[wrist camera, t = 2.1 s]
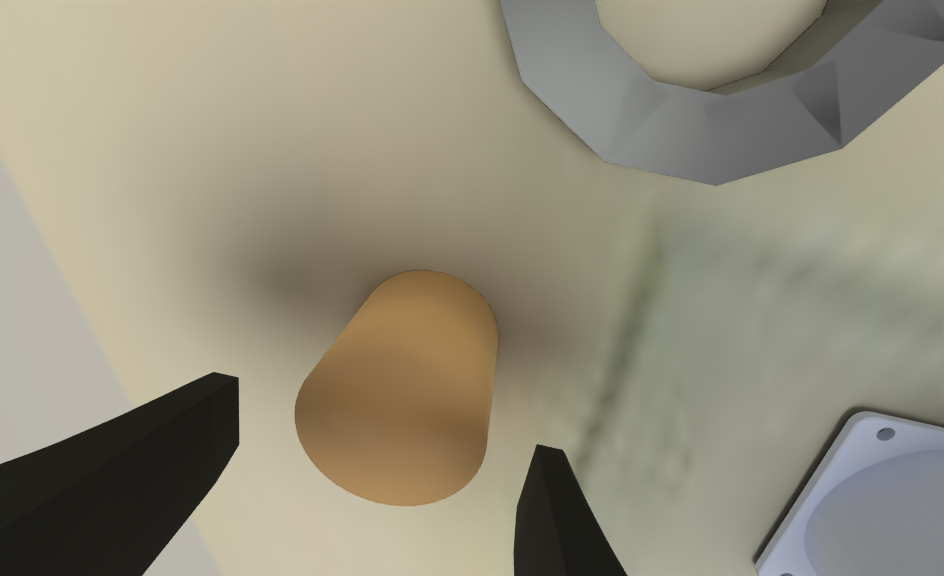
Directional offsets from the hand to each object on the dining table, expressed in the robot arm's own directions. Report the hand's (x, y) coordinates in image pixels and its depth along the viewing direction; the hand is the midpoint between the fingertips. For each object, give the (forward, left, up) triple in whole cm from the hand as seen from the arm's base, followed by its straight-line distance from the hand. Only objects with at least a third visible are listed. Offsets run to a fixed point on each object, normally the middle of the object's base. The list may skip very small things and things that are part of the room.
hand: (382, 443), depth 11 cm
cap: (0, 0, -5) cm, 5 cm away
